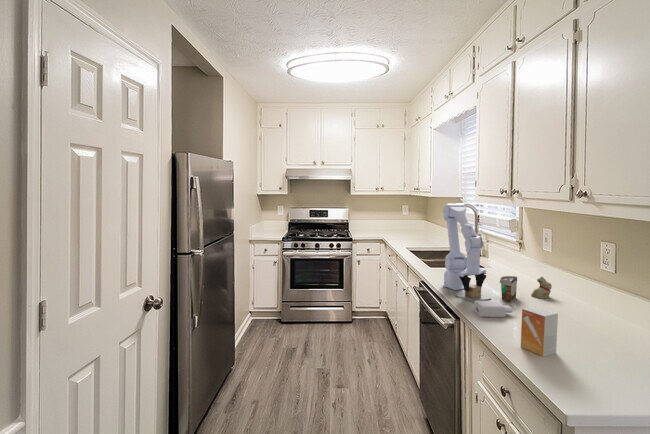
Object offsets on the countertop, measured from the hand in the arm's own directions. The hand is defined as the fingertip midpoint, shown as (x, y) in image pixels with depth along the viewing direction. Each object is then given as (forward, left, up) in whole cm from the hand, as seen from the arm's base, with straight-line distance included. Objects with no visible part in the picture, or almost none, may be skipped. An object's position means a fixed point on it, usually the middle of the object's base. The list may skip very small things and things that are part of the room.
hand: (472, 290), depth 178 cm
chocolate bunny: (+12, +31, -4) cm, 33 cm away
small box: (+53, -24, -4) cm, 58 cm away
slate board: (0, 0, -4) cm, 4 cm away
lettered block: (0, 0, -3) cm, 3 cm away
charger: (+22, -8, -4) cm, 24 cm away
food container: (+8, +13, -4) cm, 16 cm away
